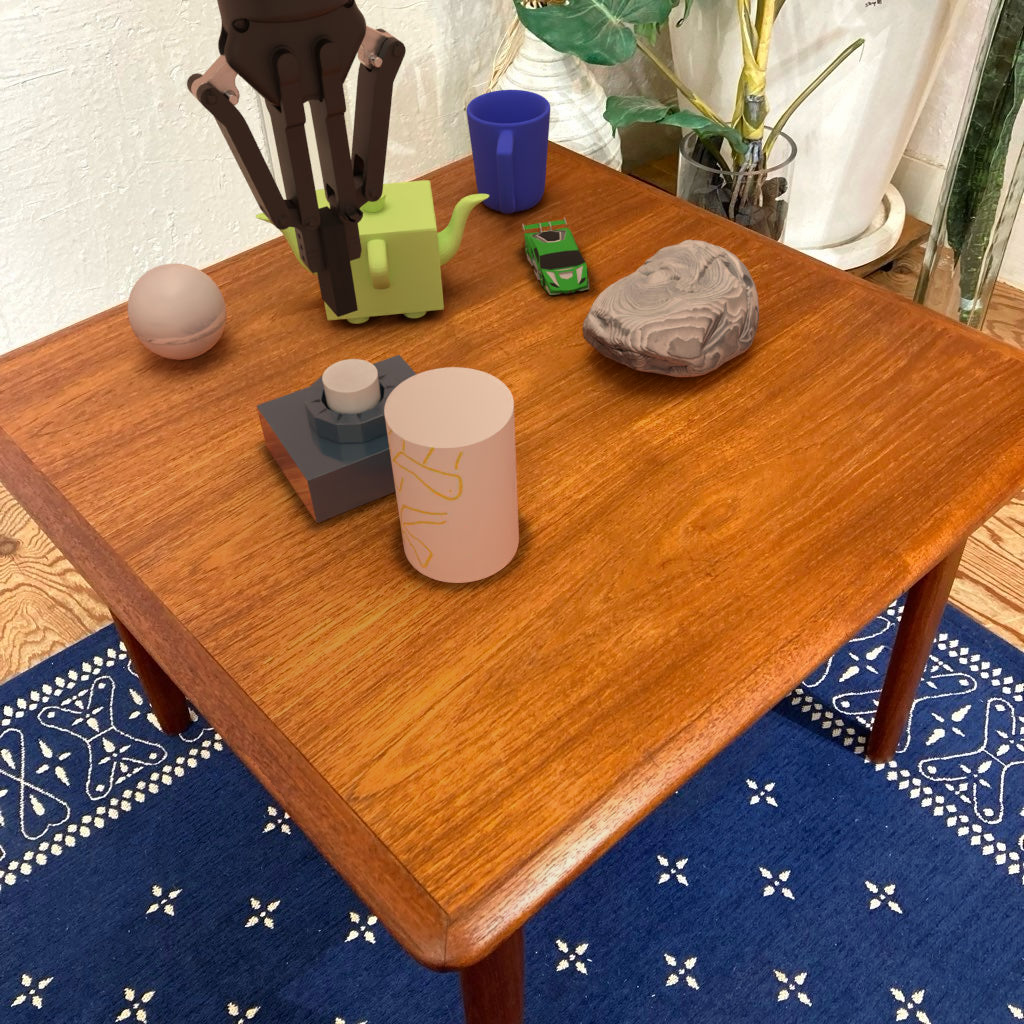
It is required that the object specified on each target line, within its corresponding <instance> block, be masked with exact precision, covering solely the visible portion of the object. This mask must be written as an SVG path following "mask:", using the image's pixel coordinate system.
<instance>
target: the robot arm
mask: <svg viewBox="0 0 1024 1024" xmlns="http://www.w3.org/2000/svg"><path fill="white" fill-rule="evenodd" d="M216 1H217V7H218V10H219V14H220V15H219V16H220V20H221V26H220V27H221V28H220V35H219V37H218V40H217V48H218V52H219V56H218V57H217V59H216V60H215V61H214V62H213V63H212V64H211V66H209V68H208V69H207V70H206V71H205V72H204V73H203V74H202V73H199V72H196V73H193V74H190V76H189V77H188V79H187V81H186V87H187V89H188V91H189V93H190V94H191V95H192V96H193V97H194V98H195V99H196V100H197V101H198V102H199V103H200V104H201V105H202V106H203V108H205V110H207V111H208V112H209V113H210V114H211V115H212V116H213V118H214V120H215V122H216V124H217V127H218V129H219V130H220V132H221V134H222V136H223V138H224V139H225V142H226V143H227V146H228V147H229V150H230V152H231V153H232V155H233V157H234V160H235V162H236V164H237V165H238V168H239V170H240V172H241V173H242V176H243V178H244V179H245V182H246V184H247V185H248V187H249V189H250V192H251V194H252V195H253V198H254V199H255V201H256V203H257V206H258V207H259V210H261V213H264V214H265V215H266V216H267V218H268V219H269V220H270V221H271V222H272V223H273V224H274V225H273V224H272V225H273V227H275V228H276V229H278V230H279V229H280V230H284V229H287V228H288V227H294V228H295V233H296V239H297V244H298V249H299V254H300V258H301V260H302V261H303V263H304V264H305V265H306V266H307V267H308V269H309V270H310V271H311V272H312V273H316V272H317V275H318V276H317V275H316V276H317V279H318V284H319V290H320V297H321V300H322V301H323V303H324V302H325V303H326V304H327V305H328V306H329V307H330V309H331V310H332V311H333V312H334V313H335V314H336V316H337V317H340V316H343V315H346V314H349V313H351V312H354V311H357V310H358V308H357V301H356V295H355V289H354V283H353V276H352V270H351V264H350V261H352V260H355V259H358V258H360V256H361V251H362V249H361V243H360V237H359V236H360V235H359V229H358V222H360V221H361V219H362V217H363V212H362V211H361V210H360V207H362V206H363V205H364V204H365V203H367V202H368V201H370V202H375V201H377V200H379V199H380V197H381V196H382V191H383V184H384V181H385V180H384V179H385V171H386V160H387V152H388V151H387V150H388V141H389V132H390V120H391V110H392V109H391V108H392V101H393V91H394V82H395V80H396V77H397V75H398V72H399V70H400V68H401V66H402V63H403V61H404V58H405V56H406V52H407V50H406V46H405V44H404V43H403V42H402V41H401V40H399V39H398V38H397V37H395V36H394V35H392V34H391V33H389V32H388V31H387V30H385V29H384V28H380V27H379V28H373V27H370V26H369V25H367V22H366V19H365V18H366V17H365V16H364V14H363V13H362V11H361V10H360V8H359V7H358V5H357V2H356V0H216ZM356 57H357V59H358V61H359V62H360V63H359V66H358V72H357V82H356V93H355V103H354V104H355V105H354V106H355V107H354V116H353V117H354V119H353V130H352V143H351V151H350V144H349V137H348V131H347V124H346V117H345V113H346V112H347V104H346V98H345V97H346V96H345V90H344V84H345V81H346V79H347V77H348V75H349V73H350V70H351V68H352V66H353V64H354V61H355V59H356ZM237 76H239V77H240V78H241V79H242V80H244V81H245V83H247V84H248V85H249V86H250V87H251V88H252V89H253V90H254V91H255V92H257V94H259V95H260V96H261V98H263V99H264V104H265V107H266V109H267V111H268V113H269V118H270V123H271V127H272V133H273V137H274V138H273V139H274V142H275V143H274V144H275V147H276V153H277V158H278V163H279V169H280V174H281V179H282V183H283V188H284V189H283V190H284V194H285V199H284V197H283V195H282V193H281V191H280V189H279V187H278V184H277V182H276V181H275V178H274V176H273V174H272V172H271V170H270V168H269V166H268V164H267V162H266V160H265V158H264V156H263V154H262V151H261V149H260V147H259V146H258V142H257V141H256V139H255V137H254V135H253V132H252V131H251V128H250V126H249V124H248V122H247V121H246V119H245V117H244V115H243V114H242V113H241V111H240V110H239V109H238V108H237V106H236V105H238V103H239V101H240V96H241V95H240V94H241V93H240V91H239V89H238V88H237V85H236V78H237ZM305 103H308V104H309V108H310V114H311V120H312V126H313V131H314V138H315V143H316V148H317V154H318V161H319V168H320V172H321V178H322V184H323V189H324V190H325V196H326V199H327V201H328V202H329V205H330V209H329V207H328V206H326V207H322V208H319V207H318V201H317V196H316V190H317V189H316V184H315V179H314V173H313V172H314V171H313V167H312V162H311V156H310V155H311V154H310V151H309V150H310V149H309V144H308V138H307V132H306V126H305V124H306V123H307V115H306V111H305ZM280 230H279V231H280ZM311 272H310V273H311ZM312 273H311V274H312Z"/></svg>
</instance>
